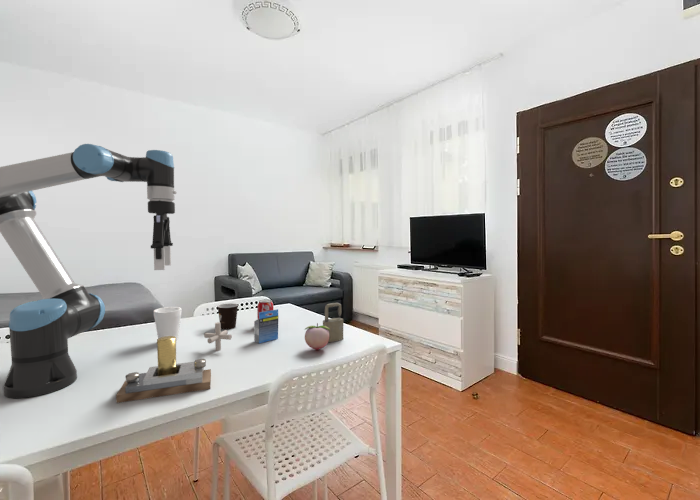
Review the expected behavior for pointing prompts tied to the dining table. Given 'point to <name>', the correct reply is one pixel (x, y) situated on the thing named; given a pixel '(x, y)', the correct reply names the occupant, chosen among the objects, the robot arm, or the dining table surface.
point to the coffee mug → (227, 315)
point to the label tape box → (266, 327)
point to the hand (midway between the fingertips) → (163, 267)
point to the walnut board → (164, 390)
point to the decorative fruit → (317, 336)
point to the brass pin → (166, 355)
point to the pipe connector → (217, 336)
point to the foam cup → (168, 321)
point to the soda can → (264, 306)
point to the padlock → (334, 324)
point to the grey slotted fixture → (166, 377)
